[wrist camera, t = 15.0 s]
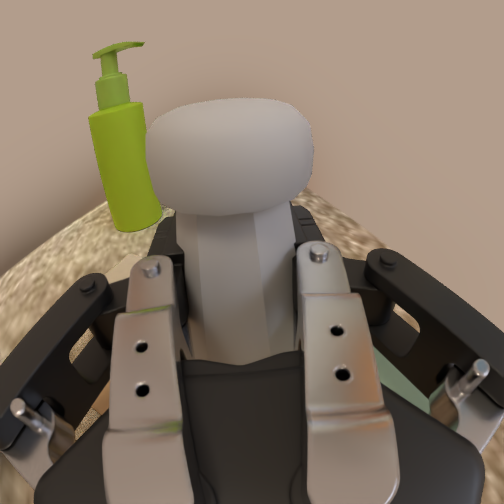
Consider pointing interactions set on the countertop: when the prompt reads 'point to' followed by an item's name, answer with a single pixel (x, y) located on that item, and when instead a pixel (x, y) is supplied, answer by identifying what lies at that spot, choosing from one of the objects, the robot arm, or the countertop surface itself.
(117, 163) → the soap dispenser
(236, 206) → the salt shaker
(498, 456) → the countertop surface
